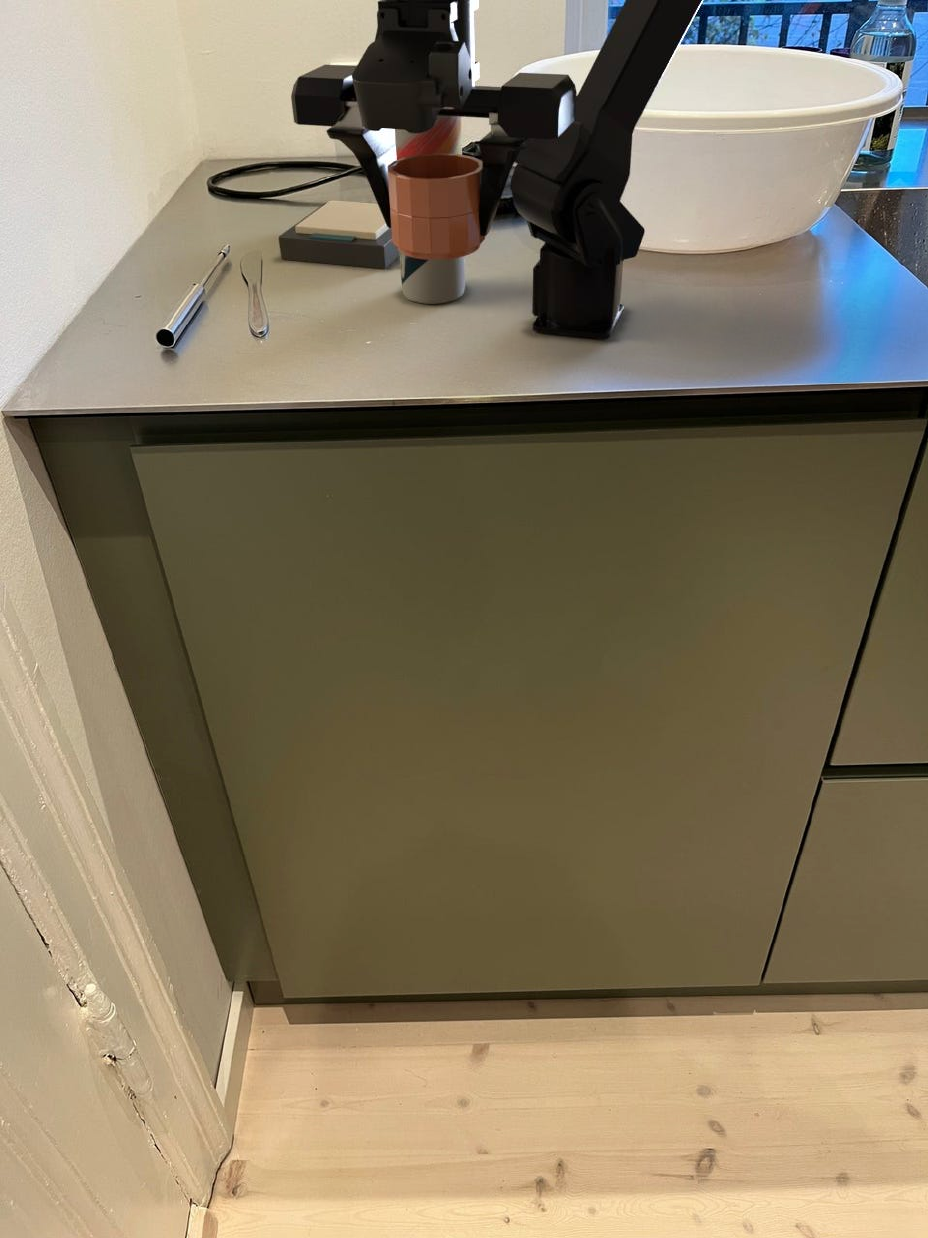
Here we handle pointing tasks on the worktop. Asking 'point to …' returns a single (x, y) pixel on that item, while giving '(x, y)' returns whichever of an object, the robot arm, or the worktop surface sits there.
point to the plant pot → (435, 205)
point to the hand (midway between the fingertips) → (437, 230)
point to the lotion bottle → (421, 275)
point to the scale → (341, 236)
